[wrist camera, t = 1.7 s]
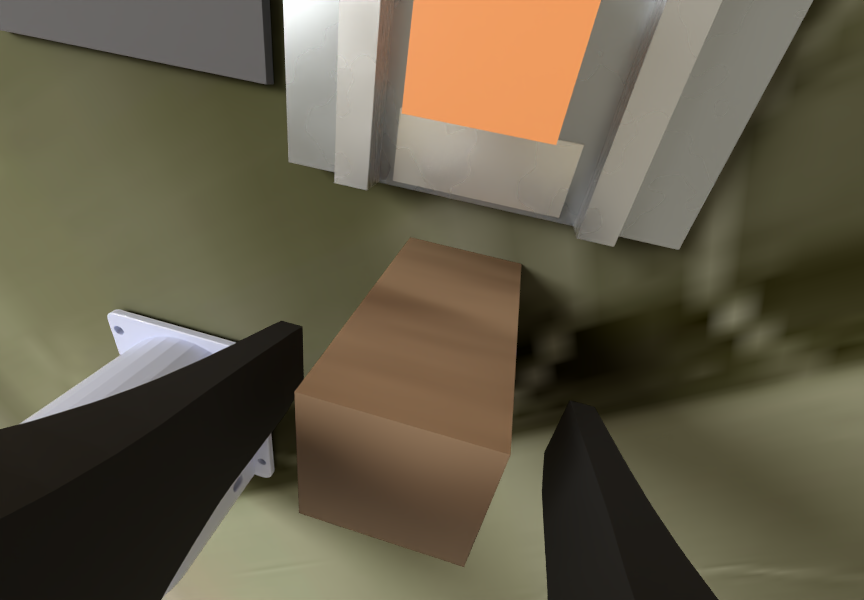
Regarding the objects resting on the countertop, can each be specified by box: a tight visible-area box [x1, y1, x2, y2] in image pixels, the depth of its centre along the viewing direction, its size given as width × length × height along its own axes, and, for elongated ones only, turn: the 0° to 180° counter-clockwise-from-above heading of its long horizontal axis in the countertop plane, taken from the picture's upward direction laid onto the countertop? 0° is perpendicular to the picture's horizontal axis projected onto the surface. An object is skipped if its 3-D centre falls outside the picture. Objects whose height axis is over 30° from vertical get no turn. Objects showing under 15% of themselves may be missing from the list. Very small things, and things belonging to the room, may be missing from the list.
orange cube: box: [402, 0, 601, 145], centre depth 8 cm, size 3×3×3 cm
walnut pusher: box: [294, 237, 521, 567], centre depth 11 cm, size 4×4×8 cm
